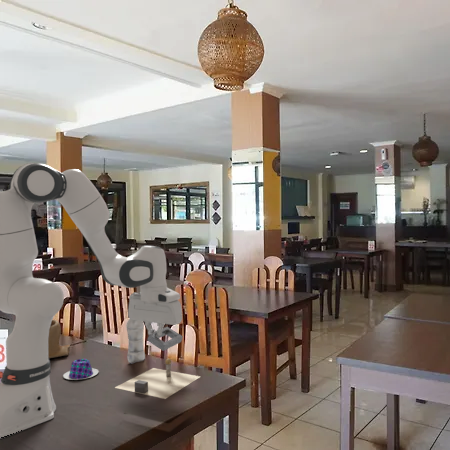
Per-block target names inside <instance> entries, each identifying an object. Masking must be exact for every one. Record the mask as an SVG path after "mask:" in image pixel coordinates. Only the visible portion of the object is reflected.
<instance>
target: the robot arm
mask: <svg viewBox="0 0 450 450" xmlns="http://www.w3.org/2000/svg"><path fill="white" fill-rule="evenodd" d="M54 200H56V201H57V202H59V203H60V204H61V205H62V207H63V208H64V210H65V212H66V213H67V214H68V217H70V219H71V220H72V222H73V223H74V224H75V226H76V227H77V229H78V230H79V231H80V233H81V234H82V237H84V239H85V241H86V242H87V245H88V246H89V248H90V249H91V250H92V252H93V255H94V256H95V258H96V259H97V261H98V265H99V268H100V269H99V270H100V274H101V278H102V279H103V280H104V282H105V283H107V284H108V285H111V286H116V287H117V286H118V287H123V288H128V289H129V288H130V289H134V288H137V287H139V291H140V292H132V293H131V294H130V295H129V300H128V301H129V302H128V308H127V309H128V313H127V317H128V318H129V319H130V320H137V321H143V322H144V325H145V327H146V330H147V335H148V336H149V335H150V334H152V333H154V332H155V336H161V335H162V329H163V328H165V325H169V326H170V325H172V326H176V325H179V324H181V322H182V320H183V311H182V310H183V309H182V304H181V302H180V299H181V294H180V293H179V292H177V291H175V290H173V289H171V288H169V287H168V284H167V279H166V276H167V270H168V269H167V259H166V257H167V256H166V254H165V251H164V249H163V248H162V247H160V246H154V245H142V246H141V247H140V249H138V250H137V251H136V252H133V254H131V255H129V256H127V257H126V256H123V255H122V254H119V253H118V252H117V251H116V249H115V248H114V247H113V244H112V242H111V241H110V239H109V237H108V236H107V234H106V230H105V226H106V225H107V224H108V221H109V219H110V211H109V208H108V206H107V203H106V202H105V200H104V198H103V196H102V195H101V193H100V192H99V190H98V189H97V188H96V186H95V185H94V183H93V182H92V181H91V180H90V179H89V178H88V177H87V175H86V174H85V173H84V172H83V171H81V170H80V169H76V168H72V169H66V170H64V171H62V172H61V171H59V170H58V169H55V168H53V167H51V166H50V165H48V164H44V163H41V162H29V163H26V164H23V165H21V166H19V167H18V168H16V170H15V171H14V172H13V174H12V176H11V179H10V181H9V185H8V187H7V190H3V191H0V311H1V312H2V313H4V314H8V315H13V316H15V320H14V326H13V329H12V332H11V333H10V334H9V335H8V336H7V337H6V340H5V349H6V350H5V355H6V356H5V360H6V366H5V367H4V369H3V371H0V439H2V438H1V437H4V436H7V435H9V436H11V435H10V434H12V435H14V434H17V433H19V432H22V431H24V430H27V429H30V428H32V427H34V426H37V425H40V424H42V423H45V422H48V421H50V420H52V419H54V418H55V412H56V410H57V405H56V403H55V400H54V397H53V396H54V395H53V392H52V385H51V379H50V375H51V371H52V370H51V360H50V358H48V336H49V329H50V325H51V322H52V320H54V318H55V316H56V315H57V314H58V313H59V311H60V310H61V309H62V307H63V304H64V300H65V296H64V295H65V294H64V291H63V288H62V287H61V285H59V284H57V283H55V282H54V281H51V280H48V279H46V278H39V277H38V278H37V277H34V275H33V264H34V261H35V260H36V258H37V257H38V255H39V249H38V244H37V239H36V234H35V228H34V223H33V219H32V208H33V206H34V205H35V203H40V204H41V203H47V202H51V201H54ZM129 319H128V320H129ZM153 323H155V324H156V325H157V326H156V327H157V329H156V330H155V328H154V327H153V326H152V324H153ZM21 430H22V431H21ZM18 431H19V432H18ZM16 432H17V433H16ZM13 433H14V434H13ZM7 437H8V436H7ZM4 438H5V437H4Z"/></svg>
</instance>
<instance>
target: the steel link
mask: <svg viewBox="0 0 450 450" xmlns="http://www.w3.org/2000/svg"><path fill="white" fill-rule="evenodd" d="M164 336H167V337H168V338H170V339H168V340H166V341H164V340H162V339H160V338H162V337H164ZM183 337H184V336H183V335H181V334H180V333H178V332H177V331H174V330H173V329H171V328H170V327H169V326H166V327H165V326H164V327H163V329H162V335H161V336H155V331H154V333H152V334H150V335H148V337H147V339H146V341H148V343H150V344H152V345H153V346H155V347H157V348H158V349H160V350H161V351H163V352H164V351H167V350H169V349H170V348H173V347H174V346H176V345H178V344H180V343H181V342H182V340H183Z"/></svg>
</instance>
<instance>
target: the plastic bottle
mask: <svg viewBox="0 0 450 450" xmlns="http://www.w3.org/2000/svg"><path fill="white" fill-rule="evenodd" d="M144 325H145V323H144V321H137V320H130V319H127V322H126V325H125V327H126V331H127V339H128V340H127V341H128V345H127V347H128V348H127V349H128V350H127V362H128V363H129V364H131V365H134V364H135V363H139V362H143V361H145V358H146V353H145V350H144V342H143V341H144V338H143V337H144Z"/></svg>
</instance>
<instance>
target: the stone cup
mask: <svg viewBox="0 0 450 450" xmlns="http://www.w3.org/2000/svg"><path fill="white" fill-rule="evenodd" d="M61 331H62V329H61V323H60V322H59V321H58V320H56V319H52V322H51V325H50V329H49V336H48V358H49V359H53V358H59V357H64V356H68V355H69V354H70V351H71V344H65V345H60V340H61Z"/></svg>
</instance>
